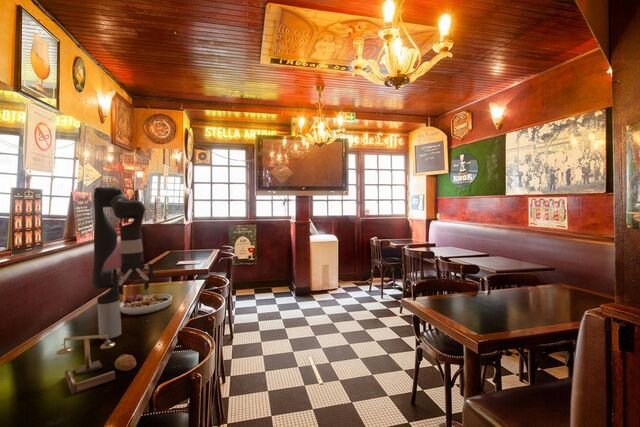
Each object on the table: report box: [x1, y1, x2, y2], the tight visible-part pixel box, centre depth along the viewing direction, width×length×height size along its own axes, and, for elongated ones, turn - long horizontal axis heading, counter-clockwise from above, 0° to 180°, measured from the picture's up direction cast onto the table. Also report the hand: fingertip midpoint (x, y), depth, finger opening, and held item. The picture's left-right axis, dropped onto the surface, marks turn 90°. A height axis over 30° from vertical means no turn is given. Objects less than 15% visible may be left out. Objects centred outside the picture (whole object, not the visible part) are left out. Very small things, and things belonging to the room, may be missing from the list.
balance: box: [55, 334, 116, 376], centre depth 125 cm, size 19×6×14 cm, turn 135°
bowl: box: [120, 293, 173, 315], centre depth 203 cm, size 30×30×8 cm
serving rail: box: [64, 368, 116, 395], centre depth 118 cm, size 16×13×3 cm
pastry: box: [114, 354, 137, 372], centre depth 126 cm, size 9×7×4 cm
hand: (133, 292), depth 126 cm, fingers open, 8 cm apart
